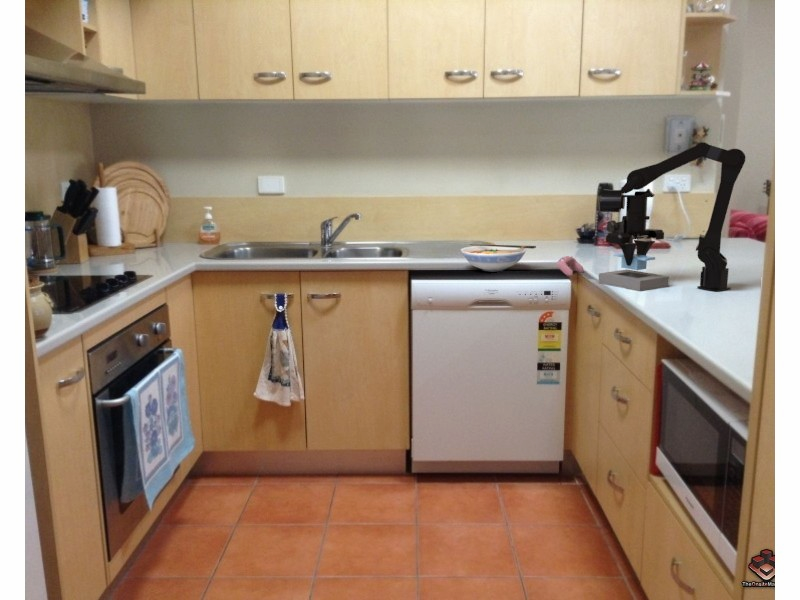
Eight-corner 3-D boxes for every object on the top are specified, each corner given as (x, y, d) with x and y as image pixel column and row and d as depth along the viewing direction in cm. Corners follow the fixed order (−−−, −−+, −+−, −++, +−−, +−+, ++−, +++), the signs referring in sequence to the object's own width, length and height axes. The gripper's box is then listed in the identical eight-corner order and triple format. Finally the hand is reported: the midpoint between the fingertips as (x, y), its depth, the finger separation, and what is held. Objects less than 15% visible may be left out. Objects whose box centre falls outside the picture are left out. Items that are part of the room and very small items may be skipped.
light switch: (668, 286, 196) (668, 276, 196) (639, 291, 191) (640, 280, 190) (626, 278, 210) (626, 269, 210) (598, 282, 205) (598, 273, 204)
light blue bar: (623, 265, 206) (623, 252, 205) (654, 270, 195) (655, 256, 194) (613, 266, 204) (614, 253, 203) (644, 271, 193) (645, 257, 193)
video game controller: (573, 275, 226) (565, 257, 227) (585, 270, 224) (577, 251, 224) (561, 280, 219) (552, 260, 220) (572, 275, 216) (564, 255, 217)
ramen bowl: (446, 272, 230) (445, 249, 229) (476, 263, 249) (476, 241, 247) (512, 278, 217) (512, 253, 215) (539, 267, 235) (539, 244, 234)
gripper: (637, 209, 207) (634, 258, 210) (593, 213, 199) (591, 264, 202) (666, 211, 198) (663, 263, 201) (621, 215, 189) (619, 269, 192)
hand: (633, 264), depth 199 cm, fingers closed on light blue bar, 4 cm apart
